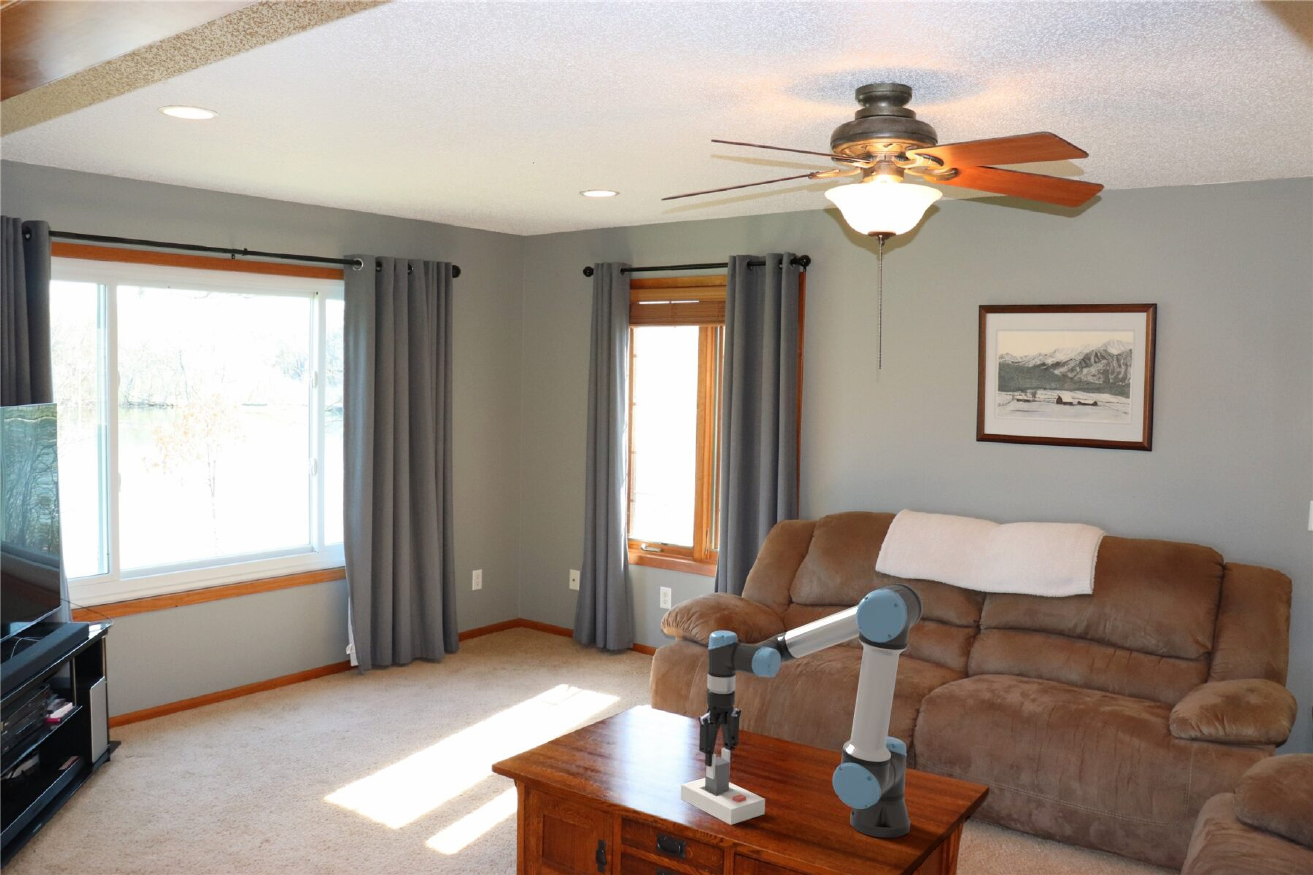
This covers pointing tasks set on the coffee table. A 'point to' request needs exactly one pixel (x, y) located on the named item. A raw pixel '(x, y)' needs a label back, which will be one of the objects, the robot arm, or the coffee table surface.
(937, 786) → the coffee table surface
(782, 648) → the robot arm
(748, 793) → the socket plate
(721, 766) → the plug
